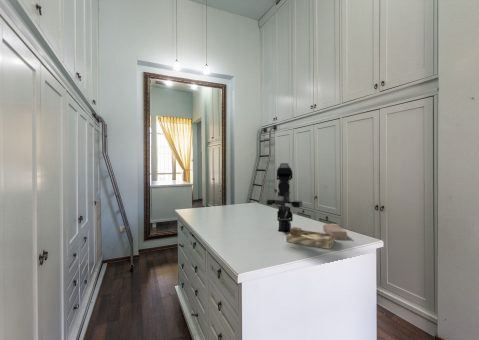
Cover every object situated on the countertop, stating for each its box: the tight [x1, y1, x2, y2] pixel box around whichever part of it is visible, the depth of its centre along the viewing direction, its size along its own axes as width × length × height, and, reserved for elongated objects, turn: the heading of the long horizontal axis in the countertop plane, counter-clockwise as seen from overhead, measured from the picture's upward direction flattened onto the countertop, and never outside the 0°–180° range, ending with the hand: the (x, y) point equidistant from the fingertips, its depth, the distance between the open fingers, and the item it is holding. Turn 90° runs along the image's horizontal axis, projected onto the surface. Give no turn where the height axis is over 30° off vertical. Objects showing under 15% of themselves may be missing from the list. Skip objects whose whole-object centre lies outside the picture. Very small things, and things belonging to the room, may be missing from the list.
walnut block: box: [289, 226, 302, 236], centre depth 124 cm, size 4×4×4 cm
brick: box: [322, 223, 348, 240], centre depth 135 cm, size 17×8×5 cm, turn 177°
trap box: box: [285, 229, 336, 250], centre depth 123 cm, size 22×13×4 cm, turn 59°
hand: (284, 218), depth 127 cm, fingers closed
